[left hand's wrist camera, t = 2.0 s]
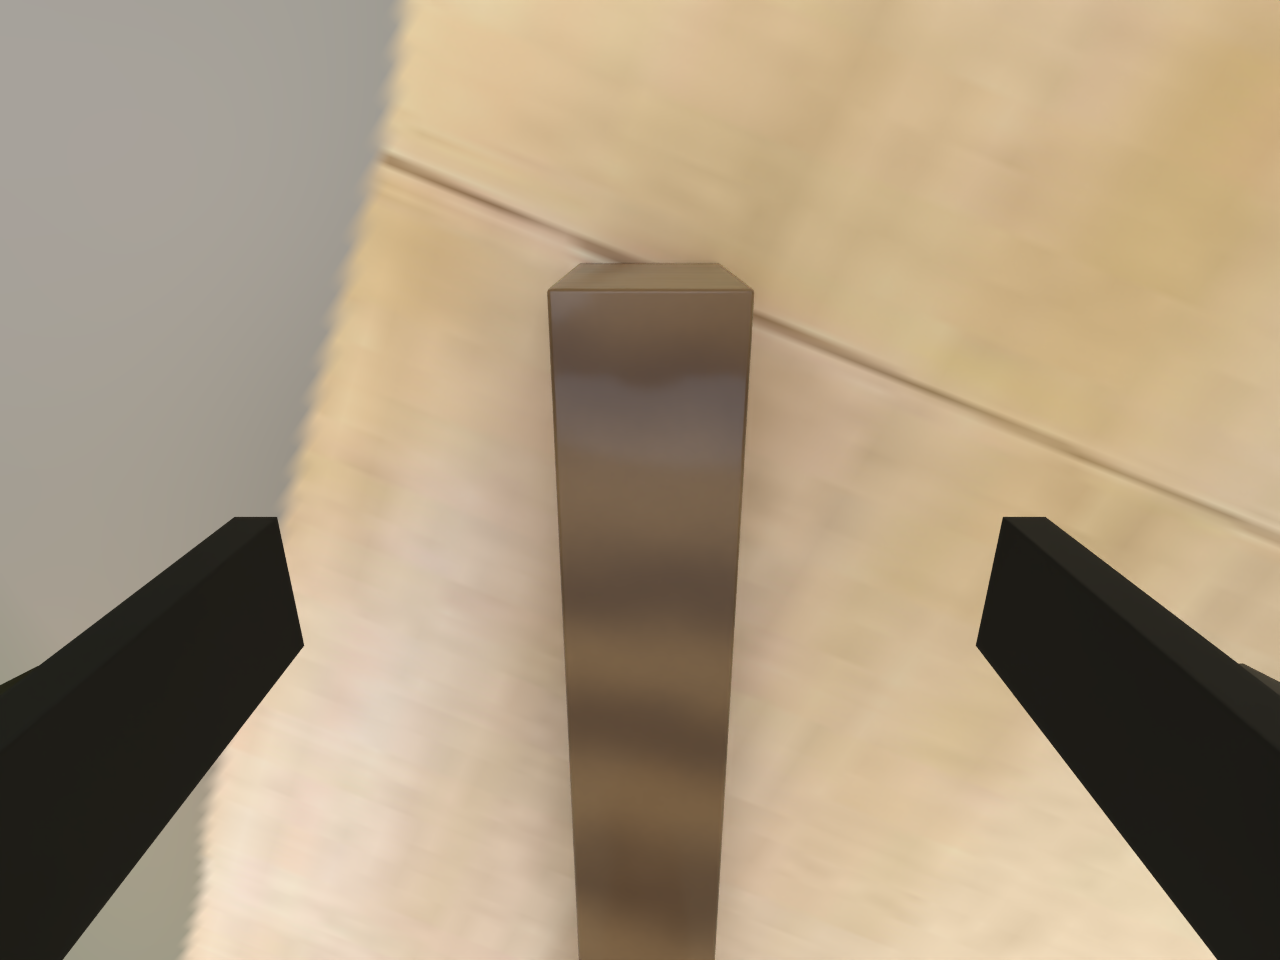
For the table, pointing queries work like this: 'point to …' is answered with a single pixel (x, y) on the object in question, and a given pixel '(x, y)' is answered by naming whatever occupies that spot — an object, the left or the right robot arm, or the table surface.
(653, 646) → the bar
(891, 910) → the table surface
